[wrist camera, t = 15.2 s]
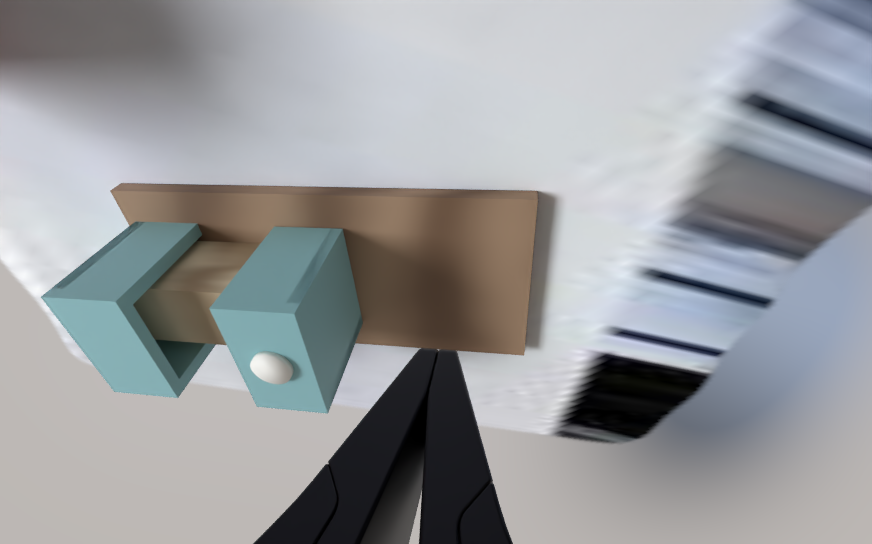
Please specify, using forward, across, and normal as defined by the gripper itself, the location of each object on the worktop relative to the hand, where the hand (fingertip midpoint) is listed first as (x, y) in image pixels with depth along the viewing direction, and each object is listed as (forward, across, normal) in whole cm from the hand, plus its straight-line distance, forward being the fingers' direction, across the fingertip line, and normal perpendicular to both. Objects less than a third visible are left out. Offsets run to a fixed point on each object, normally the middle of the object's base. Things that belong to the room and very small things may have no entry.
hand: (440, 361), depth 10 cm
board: (+12, +8, +7) cm, 16 cm away
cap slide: (+11, +8, +7) cm, 16 cm away
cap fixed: (+11, +16, +7) cm, 21 cm away
